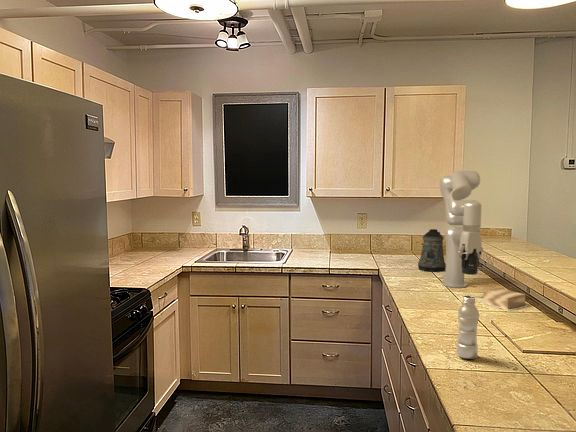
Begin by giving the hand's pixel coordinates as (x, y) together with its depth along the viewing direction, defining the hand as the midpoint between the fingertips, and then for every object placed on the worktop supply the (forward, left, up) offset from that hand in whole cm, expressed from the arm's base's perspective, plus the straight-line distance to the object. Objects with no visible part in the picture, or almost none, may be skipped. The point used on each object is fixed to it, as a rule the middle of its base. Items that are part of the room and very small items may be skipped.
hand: (470, 266), depth 211 cm
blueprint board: (+13, +7, -16) cm, 22 cm away
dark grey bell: (-61, +40, -17) cm, 74 cm away
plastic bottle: (+44, -55, -17) cm, 73 cm away
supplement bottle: (0, 0, -3) cm, 3 cm away
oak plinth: (+13, +7, -15) cm, 21 cm away
